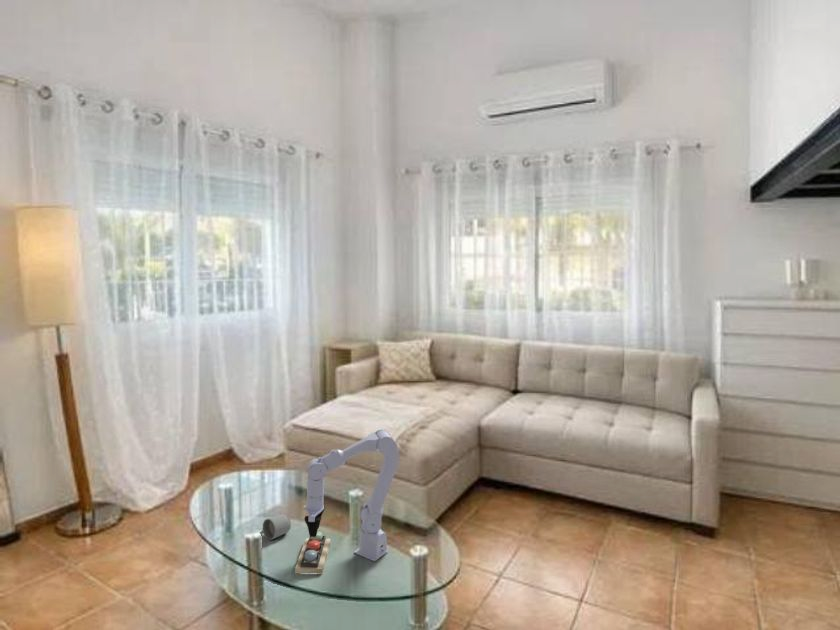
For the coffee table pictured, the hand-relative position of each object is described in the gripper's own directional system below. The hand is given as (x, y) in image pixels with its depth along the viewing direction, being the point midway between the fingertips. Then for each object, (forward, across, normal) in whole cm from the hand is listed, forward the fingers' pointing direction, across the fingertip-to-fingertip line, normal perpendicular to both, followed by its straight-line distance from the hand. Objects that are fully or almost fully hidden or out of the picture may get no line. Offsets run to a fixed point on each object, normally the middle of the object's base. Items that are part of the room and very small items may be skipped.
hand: (314, 532), depth 184 cm
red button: (+6, 0, 0) cm, 6 cm away
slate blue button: (+6, +7, 0) cm, 9 cm away
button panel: (+9, 0, 0) cm, 9 cm away
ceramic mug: (+10, -16, -18) cm, 26 cm away
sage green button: (+6, -7, 0) cm, 9 cm away
